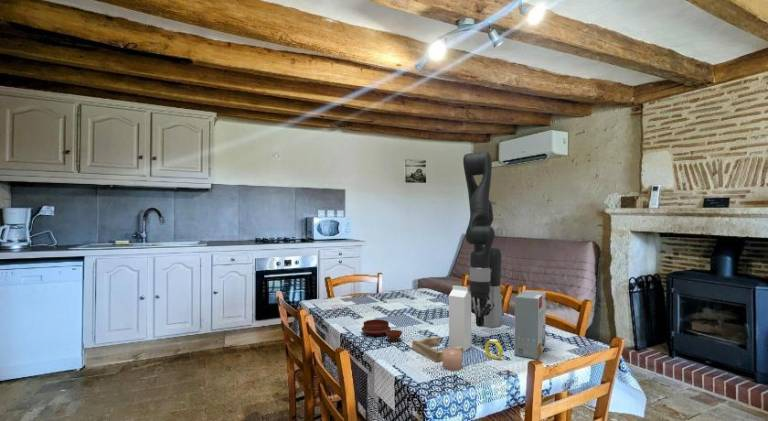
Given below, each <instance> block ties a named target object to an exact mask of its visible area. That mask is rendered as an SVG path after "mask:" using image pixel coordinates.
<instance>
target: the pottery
mask: <svg viewBox="0 0 768 421" xmlns="http://www.w3.org/2000/svg"><path fill="white" fill-rule="evenodd" d="M389 324H390V323H389V321H387V320H385V319H368V320H365V321H364V322H363V326H362V327H361V331H362V332H365V333H368V335H370V336H375V337H376V336H377V337H378V336H382V335H384V333H385V335H386V336H387V337H388V339H389V341H391V342H398V341H399V340H398V339H400V337H401V336H402V334H403V332H402V331H401V330H399V329H392V328H391V327H390V326H389Z"/></svg>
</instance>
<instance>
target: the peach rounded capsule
mask: <svg viewBox="0 0 768 421" xmlns="http://www.w3.org/2000/svg"><path fill="white" fill-rule="evenodd" d="M442 350H443V361H442V368H443V369H444V370H447V371H453V372H455V371H461V370H462V369H463V357H462V351H461V350H460V349H457V348H449V347H444V348H443V349H442Z"/></svg>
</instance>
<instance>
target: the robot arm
mask: <svg viewBox="0 0 768 421" xmlns="http://www.w3.org/2000/svg"><path fill="white" fill-rule="evenodd" d="M491 156H492V155H491V154H490V152H488V151H480V152H471V153H466V154H464V155H463V160H462V162H463V163H462V164H463V170H464V175H465V181H466V188H467V193H468V202H469V220H468V221H469V222H468V224H467V228H466V232H465V241H466V242H467V243H468V244H469V245H473V251H471V252H470V256H469V259H470V262H469V263H470V265H469V266H470V269H469V293H470V294H471V314H474V316H475V325H476V327H479V328H482V327H486V328H497V327H498V328H499V327H501V325H503V303H502V301H501V280H502V279H501V276H502V275H501V274H502V252H501V250H500V249H499V248H498V247H497V248H496V247H493V243H494V240H495V237H496V235H495V233H496V232H495V229H494V228H493V226H492V224H493V220H494V211H493V204H492V202H491V200H490V191H491V190H490V189H491V182H492V180H491V179H492V169H493V165H492V163H493V162H492V157H491ZM481 175H482V179H481V180H480V183H479V185H478V184H477V182H476V179H475V176H481Z"/></svg>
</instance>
